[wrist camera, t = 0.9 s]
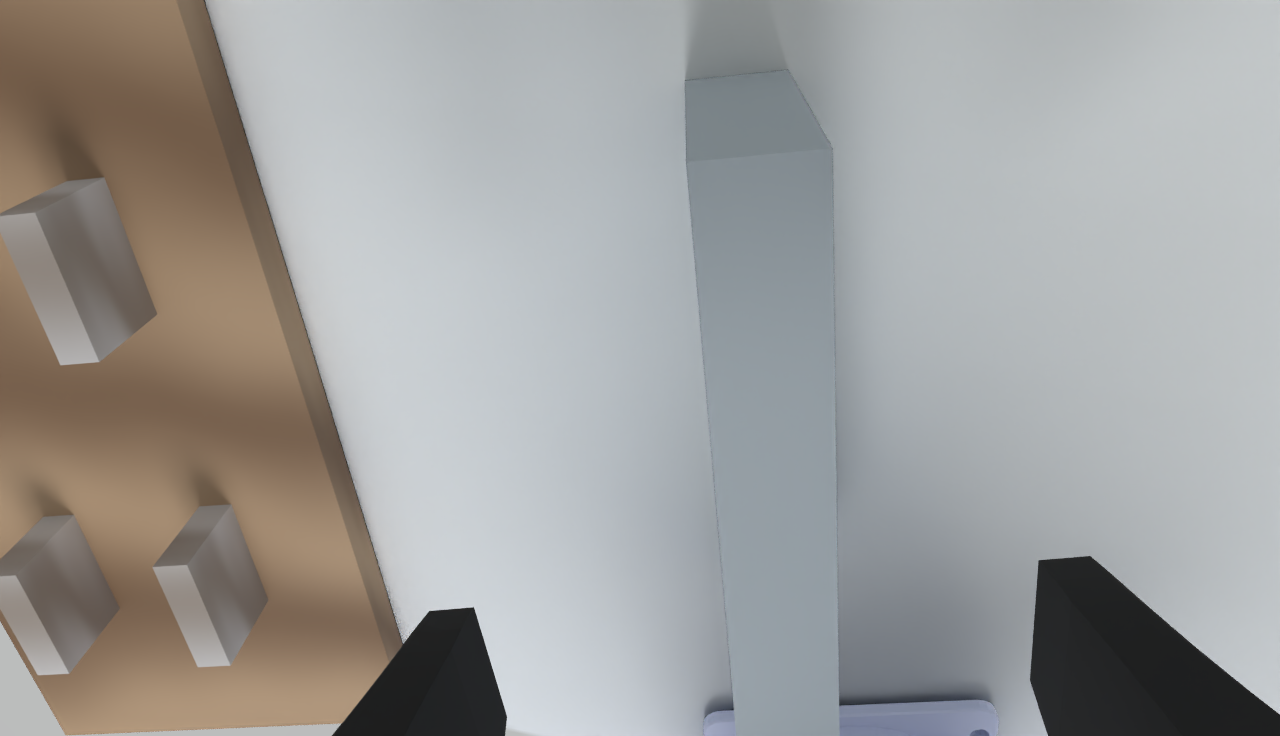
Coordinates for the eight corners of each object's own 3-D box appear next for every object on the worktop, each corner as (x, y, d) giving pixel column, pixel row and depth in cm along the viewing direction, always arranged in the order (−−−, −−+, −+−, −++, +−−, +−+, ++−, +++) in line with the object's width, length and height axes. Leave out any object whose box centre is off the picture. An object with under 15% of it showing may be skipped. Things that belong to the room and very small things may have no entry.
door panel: (803, 554, 23) (839, 752, 18) (725, 559, 24) (738, 756, 18) (787, 68, 18) (832, 147, 12) (684, 79, 18) (686, 162, 13)
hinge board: (417, 691, 26) (384, 790, 23) (86, 707, 27) (15, 804, 24) (175, -93, 17) (71, -87, 14) (-317, -30, 18) (-508, -13, 15)
